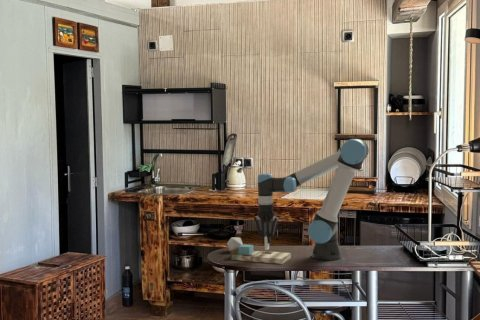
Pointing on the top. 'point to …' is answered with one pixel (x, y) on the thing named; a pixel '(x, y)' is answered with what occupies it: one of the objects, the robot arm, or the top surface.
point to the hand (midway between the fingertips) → (267, 249)
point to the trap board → (261, 256)
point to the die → (234, 243)
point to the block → (246, 249)
